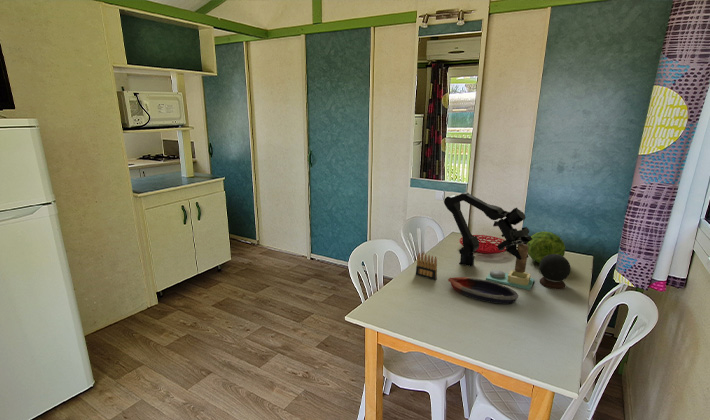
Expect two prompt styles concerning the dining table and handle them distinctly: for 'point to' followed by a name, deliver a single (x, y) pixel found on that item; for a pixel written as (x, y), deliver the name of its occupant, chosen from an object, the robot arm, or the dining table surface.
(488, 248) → the bowl
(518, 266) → the walnut dowel
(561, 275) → the black ball on stand
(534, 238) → the lettuce
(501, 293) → the dish
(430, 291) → the dining table surface
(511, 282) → the carrier plate
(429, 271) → the ammunition clip
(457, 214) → the robot arm
